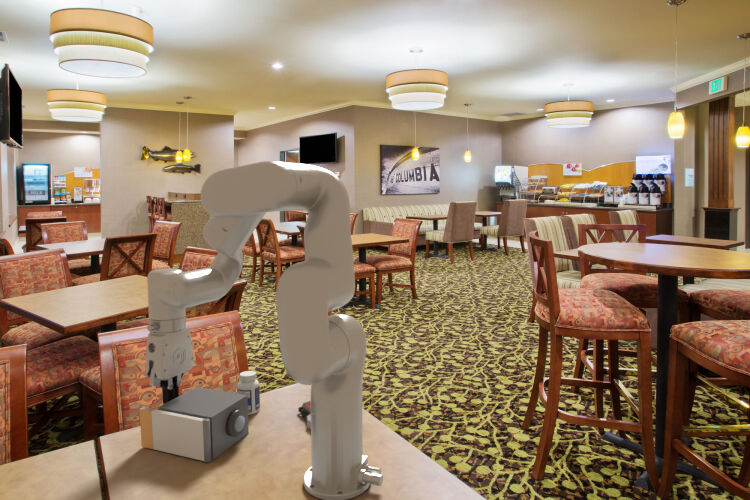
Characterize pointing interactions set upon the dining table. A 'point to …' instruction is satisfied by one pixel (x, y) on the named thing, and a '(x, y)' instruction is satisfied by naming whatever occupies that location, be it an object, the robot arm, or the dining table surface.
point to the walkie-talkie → (306, 412)
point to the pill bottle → (250, 390)
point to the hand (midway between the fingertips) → (171, 403)
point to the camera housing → (215, 414)
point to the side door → (176, 433)
